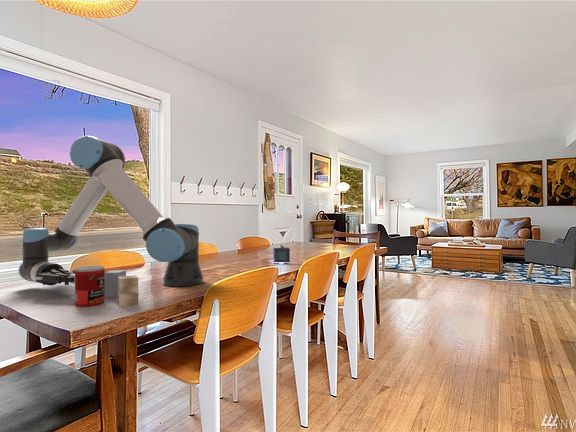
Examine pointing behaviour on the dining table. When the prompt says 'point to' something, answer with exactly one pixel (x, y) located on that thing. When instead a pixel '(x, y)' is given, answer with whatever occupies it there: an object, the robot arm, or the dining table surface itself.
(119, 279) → the beech block
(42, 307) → the dining table surface
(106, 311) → the dining table surface
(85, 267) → the canned food
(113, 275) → the slate-blue painted block
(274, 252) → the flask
